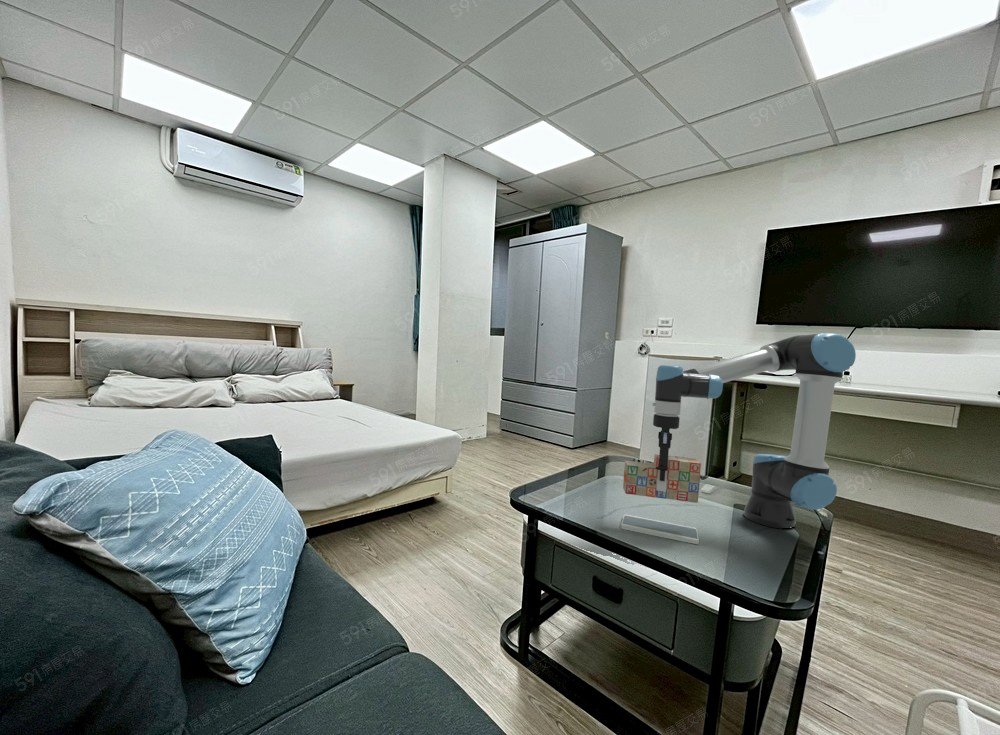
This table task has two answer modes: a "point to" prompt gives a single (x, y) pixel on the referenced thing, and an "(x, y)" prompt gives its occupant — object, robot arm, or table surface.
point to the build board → (660, 529)
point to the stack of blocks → (679, 479)
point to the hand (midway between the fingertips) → (661, 487)
